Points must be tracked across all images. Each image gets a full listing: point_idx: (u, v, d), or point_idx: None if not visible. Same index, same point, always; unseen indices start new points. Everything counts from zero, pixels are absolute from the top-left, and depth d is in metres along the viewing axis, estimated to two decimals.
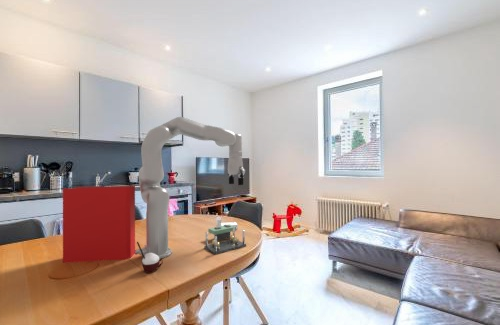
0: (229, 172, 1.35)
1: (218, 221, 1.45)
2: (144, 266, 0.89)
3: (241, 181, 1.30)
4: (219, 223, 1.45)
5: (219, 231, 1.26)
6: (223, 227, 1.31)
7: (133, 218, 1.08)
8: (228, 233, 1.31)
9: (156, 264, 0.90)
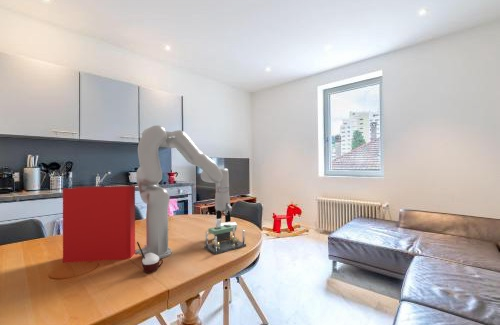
0: (216, 207, 1.32)
1: (218, 221, 1.45)
2: (144, 266, 0.89)
3: (228, 218, 1.27)
4: (219, 223, 1.45)
5: (219, 231, 1.26)
6: (223, 227, 1.31)
7: (133, 218, 1.08)
8: (228, 233, 1.31)
9: (156, 264, 0.90)
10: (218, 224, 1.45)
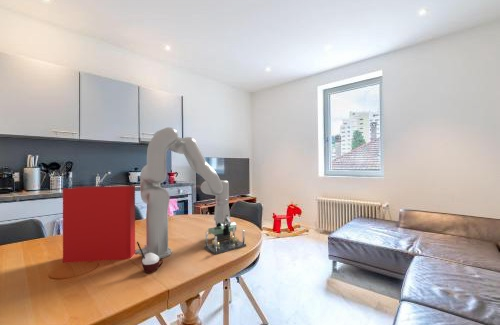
0: (215, 219, 1.31)
1: None
2: (144, 266, 0.89)
3: (226, 231, 1.27)
4: None
5: (219, 231, 1.26)
6: (223, 227, 1.31)
7: (133, 218, 1.08)
8: None
9: (156, 264, 0.90)
10: None
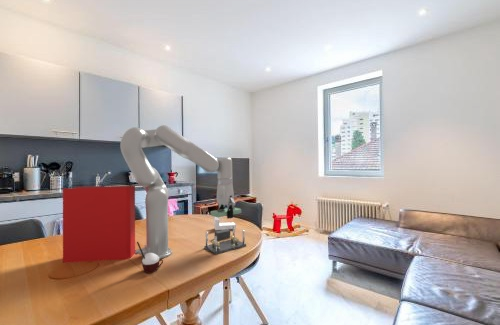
0: (218, 201, 1.17)
1: (216, 221, 1.45)
2: (144, 266, 0.89)
3: (230, 214, 1.13)
4: (217, 223, 1.45)
5: (222, 213, 1.12)
6: None
7: (133, 218, 1.08)
8: (228, 233, 1.31)
9: (156, 264, 0.90)
10: (217, 224, 1.45)
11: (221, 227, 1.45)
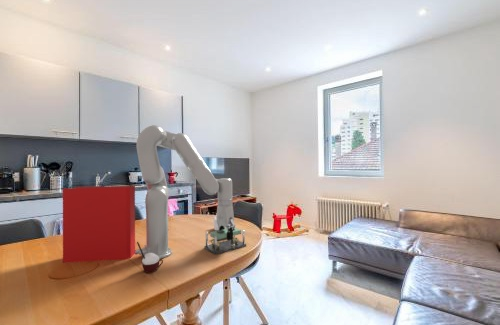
0: (218, 222, 1.17)
1: (216, 221, 1.45)
2: (144, 266, 0.89)
3: (230, 236, 1.13)
4: None
5: (222, 235, 1.12)
6: None
7: (133, 218, 1.08)
8: None
9: (156, 264, 0.90)
10: (216, 224, 1.45)
11: None
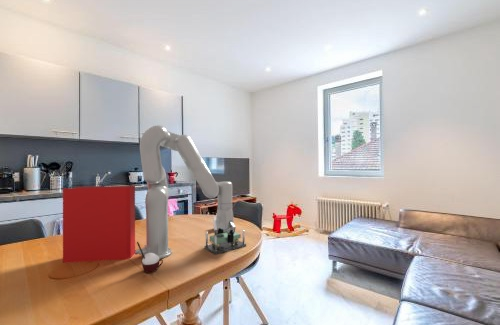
0: (218, 225, 1.17)
1: (215, 221, 1.45)
2: (144, 266, 0.89)
3: (231, 238, 1.12)
4: None
5: (222, 239, 1.12)
6: (226, 234, 1.17)
7: (133, 218, 1.08)
8: None
9: (156, 264, 0.90)
10: None
11: None
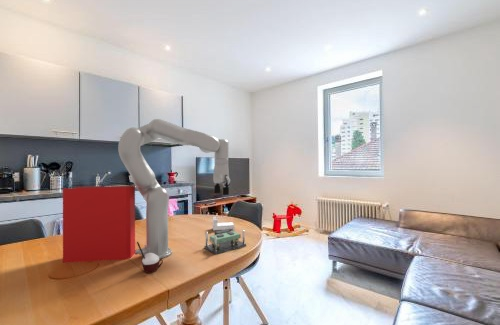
0: (214, 180, 1.25)
1: (214, 221, 1.45)
2: (144, 266, 0.89)
3: (226, 191, 1.20)
4: (215, 223, 1.45)
5: (222, 239, 1.12)
6: (226, 234, 1.17)
7: (133, 218, 1.08)
8: None
9: (156, 264, 0.90)
10: (215, 224, 1.45)
11: (219, 228, 1.45)
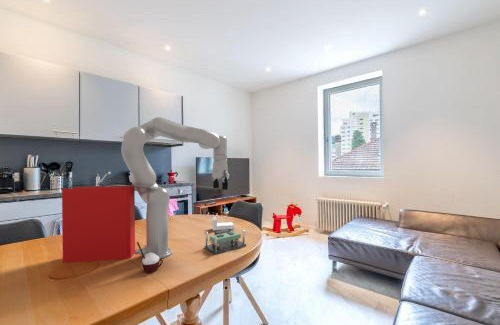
0: (213, 176, 1.29)
1: (214, 221, 1.44)
2: (144, 266, 0.89)
3: (225, 185, 1.24)
4: (215, 223, 1.45)
5: (222, 239, 1.12)
6: (226, 234, 1.17)
7: (133, 218, 1.08)
8: None
9: (156, 264, 0.90)
10: (214, 224, 1.45)
11: (219, 228, 1.45)
